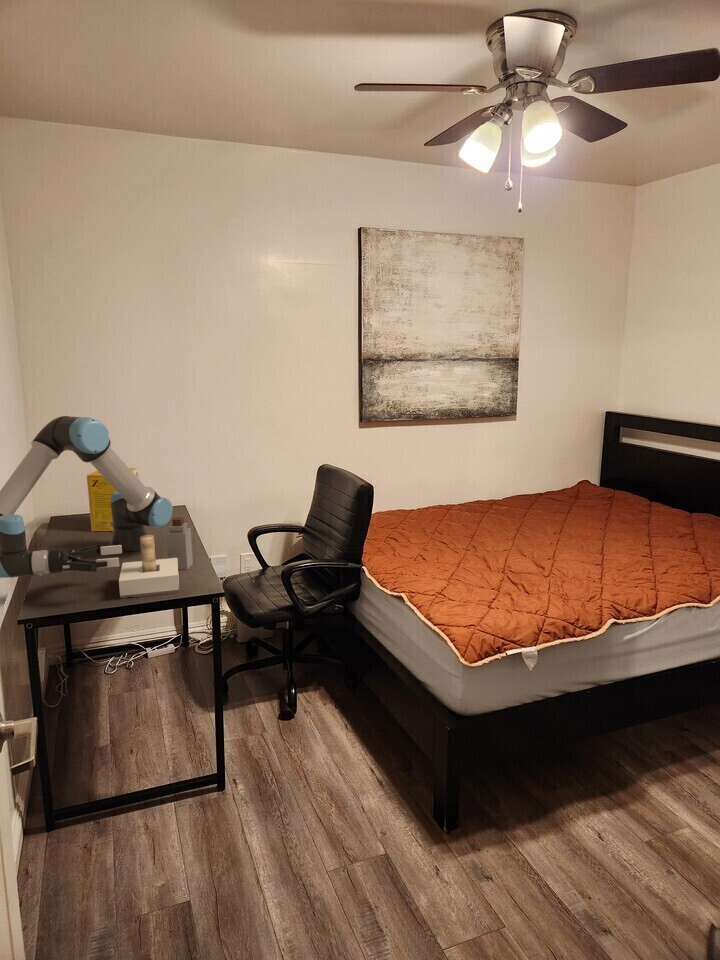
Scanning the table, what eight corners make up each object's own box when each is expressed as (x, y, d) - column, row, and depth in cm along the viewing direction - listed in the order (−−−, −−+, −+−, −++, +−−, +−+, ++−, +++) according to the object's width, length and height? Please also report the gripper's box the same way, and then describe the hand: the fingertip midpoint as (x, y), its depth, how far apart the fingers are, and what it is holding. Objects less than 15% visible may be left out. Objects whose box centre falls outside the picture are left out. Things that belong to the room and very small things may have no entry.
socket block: (124, 579, 219) (122, 562, 218) (178, 573, 224) (177, 557, 222) (120, 598, 202) (118, 580, 201) (179, 592, 207) (178, 575, 206)
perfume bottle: (174, 563, 235) (171, 516, 231) (192, 563, 235) (190, 516, 231) (168, 569, 228) (165, 521, 225) (187, 569, 228) (184, 521, 224)
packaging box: (107, 521, 291) (103, 468, 286) (142, 522, 290) (138, 468, 285) (91, 532, 275) (86, 475, 270) (128, 532, 274) (124, 475, 269)
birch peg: (143, 581, 214) (140, 535, 211) (157, 579, 215) (153, 534, 212) (143, 585, 210) (139, 539, 207) (157, 584, 211) (153, 538, 208)
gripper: (56, 560, 215) (123, 554, 220) (43, 586, 191) (118, 579, 197) (54, 539, 213) (121, 533, 219) (40, 563, 190) (116, 556, 195)
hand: (120, 555), depth 208 cm, fingers open, 13 cm apart
